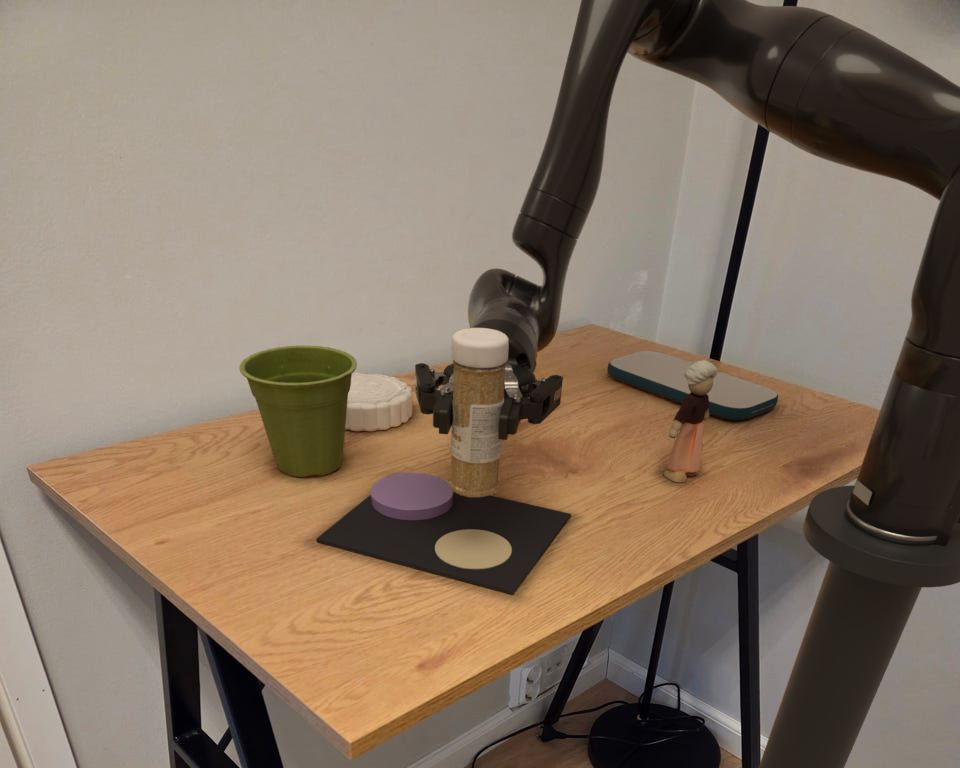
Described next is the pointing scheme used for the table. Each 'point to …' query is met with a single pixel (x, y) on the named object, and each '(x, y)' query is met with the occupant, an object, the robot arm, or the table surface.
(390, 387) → the mooncake
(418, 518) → the lilac disc
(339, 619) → the table surface
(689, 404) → the grandmother figurine
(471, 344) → the spice jar
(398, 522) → the table mat
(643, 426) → the table surface
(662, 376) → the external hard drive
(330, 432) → the plant pot
